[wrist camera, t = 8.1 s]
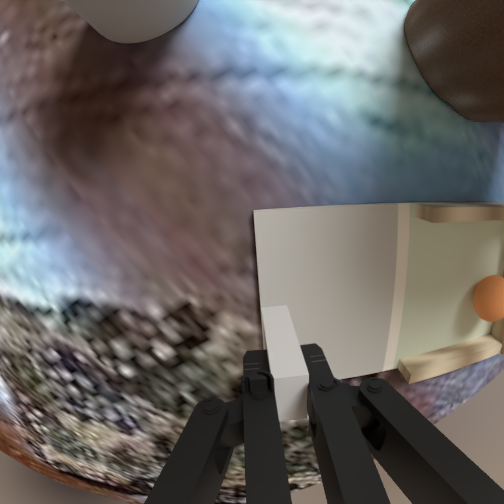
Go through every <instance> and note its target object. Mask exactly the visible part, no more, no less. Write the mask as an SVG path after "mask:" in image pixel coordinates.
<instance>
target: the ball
mask: <svg viewBox="0 0 504 504" xmlns="http://www.w3.org/2000/svg"><path fill="white" fill-rule="evenodd" d="M473 305H474V309H475V311H476V313H477V314H478V316H479V317H480V318H481V319H483V320H485V321H488V322H496V321H499V320H501V319H502V318H504V278H503V277H501V276H498V275H490V276H487V277H485V278H484V279H482V280H481V281H480V282H479V284H478V285H477V287H476V289H475V291H474V296H473Z"/></svg>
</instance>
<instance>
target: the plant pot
mask: <svg viewBox="0 0 504 504" xmlns="http://www.w3.org/2000/svg"><path fill="white" fill-rule="evenodd" d="M405 33H406V38H407V42H408V45H409V48H410V51H411V53H412V56H413V58H414V60H415V62H416V64H417V66H418V68H419V70H420V72H421V74H422V75H423V77H424V78H425V80H426V81H427V83H428V84H429V85H430V87H431V88H432V89H433V91H434V92H435V93H436V94H437V95H438V97H439V98H441V99H442V100H444V101H446V102H448V103H449V104H450V105H451V106H453V107H454V108H455V109H456V111H457V112H458V114H460V115H461V116H463V117H465V118H467V119H470V120H472V121H477V122H504V0H415V1H414V2H413V3H412V5H411V6H410V9H409V11H408V14H407V17H406V20H405Z"/></svg>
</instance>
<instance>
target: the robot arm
mask: <svg viewBox="0 0 504 504" xmlns="http://www.w3.org/2000/svg"><path fill="white" fill-rule="evenodd" d="M261 310H262V323H263V336H264V348H265V350H254V351H247V352H246V354H245V355H244V357H243V369H244V370H243V371H244V376H243V377H242V379H241V384H242V392H243V393H242V395H241V396H240V397H239V398H237V399H235V400H233V401H230V402H227V403H225V402H224V401H222V400H220V399H217V398H208V399H204V400H202V401H200V402H199V403H198V404H197V405H196V406H195V408H194V410H193V412H192V414H191V416H190V418H189V420H188V422H187V424H186V426H185V428H184V430H183V431H182V433H181V435H180V437H179V439H178V441H177V443H176V445H175V447H174V449H173V451H172V452H171V454H170V456H169V458H168V460H167V462H166V464H165V466H164V468H163V469H162V471H161V473H160V475H159V477H158V479H157V481H156V483H155V484H154V486H153V488H152V490H151V492H150V494H149V496H148V497H147V499H146V501H145V503H144V504H215V501H216V499H217V496H218V493H219V490H220V487H221V485H222V482H223V479H224V476H225V473H226V470H227V467H228V465H229V462H230V459H231V456H232V453H233V450H234V446H235V445H238V444H241V443H244V450H245V480H246V504H292V501H291V495H290V488H289V482H288V475H287V469H286V462H285V456H284V449H283V443H282V436H281V430H280V423H279V422H280V421H289V420H297V419H304V418H307V412H308V416H309V431H308V436H311V437H312V441H313V445H314V449H315V453H316V457H317V462H318V466H319V470H320V474H321V478H322V482H323V486H324V491H325V494H326V499H327V503H328V504H390V501H389V499H388V496H387V493H386V491H385V488H384V486H383V483H382V481H381V478H380V475H379V473H378V470H377V468H376V465H375V463H374V460H373V458H372V456H371V454H372V455H373V456H374V457H375V459H376V460H377V461H378V462H379V464H380V465H381V466H382V467H383V469H384V470H385V471H386V472H387V473H388V475H389V476H390V477H391V478H392V480H393V481H394V482H395V483H396V484H397V486H398V487H399V488H400V489H401V490H402V492H403V493H404V494H405V495H406V497H407V498H408V499H409V500H410V501H411V502H412V504H504V490H503V489H502V488H501V487H500V486H499V485H498V484H496V483H495V482H494V481H493V480H492V479H491V478H490V477H489V476H488V475H487V474H486V473H484V472H483V471H482V470H481V469H480V468H479V467H478V466H477V465H476V464H475V463H474V462H473V461H471V459H469V458H468V457H467V456H466V455H465V454H464V453H463V452H462V451H461V450H460V449H459V448H458V447H456V446H455V445H454V444H453V443H452V442H451V441H450V440H449V439H448V438H447V437H445V435H444V434H442V433H441V432H440V431H439V430H438V429H437V428H436V427H435V426H434V425H433V424H432V423H431V422H430V421H428V420H427V419H426V418H425V417H424V416H423V415H422V414H421V413H420V412H419V411H418V410H417V409H416V408H414V407H413V406H412V405H411V404H410V403H409V402H408V401H407V400H406V399H405V398H404V397H403V396H402V395H400V394H399V393H398V392H397V391H396V390H395V389H394V388H393V387H392V386H391V385H390V384H389V383H388V382H386V381H385V380H383V379H381V378H368V379H365V380H364V381H362V383H361V384H360V386H348V385H344V384H341V382H340V381H339V380H338V379H336V378H335V377H334V376H333V374H332V371H331V369H330V367H329V364H328V362H327V360H326V357H325V355H324V352H323V350H322V348H321V347H320V346H318V345H317V344H316V343H312V344H305V345H299V341H298V338H297V335H296V332H295V329H294V326H293V323H292V320H291V317H290V314H289V311H288V308H287V305H283V306H272V307H262V308H261ZM370 452H371V453H370Z"/></svg>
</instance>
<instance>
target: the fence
mask: <svg viewBox="0 0 504 504" xmlns="http://www.w3.org/2000/svg"><path fill="white" fill-rule="evenodd" d="M415 217H416V218H419V219H422V220H425V221H428V222H431V223H446V222H467V221H491V220H504V202H466V203H464V202H463V203H462V202H460V203H459V202H457V203H455V202H453V203H451V202H450V203H449V202H448V203H415ZM503 278H504V271H503ZM498 353H501V354H503V355H504V318H502V319H501V320H499V321H496V322H493V324H492V327H491V331H490V333H489V334H486V335H483V336H480V337H477V338H474V339H471V340H468V341H465V342H462V343H458V344H455V345H452V346H448V347H445V348H441V349H437V350H434V351H430V352H426V353H422V354H418V355H414V356H410V357H406V358H401V359H400V360H399V364H398V369H399V371H400V372H401V373H402V375H403V376H404V378H405V379H406V381H407V382H408V384H411V383H414V382H418V381H421V380H425V379H428V378H432V377H435V376H438V375H441V374H444V373H448V372H451V371H454V370H456V369H459V368H462V367H465V366H468V365H470V364H473V363H476V362H478V361H481V360H484V359H486V358H489V357H491V356H493V355H496V354H498Z"/></svg>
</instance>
